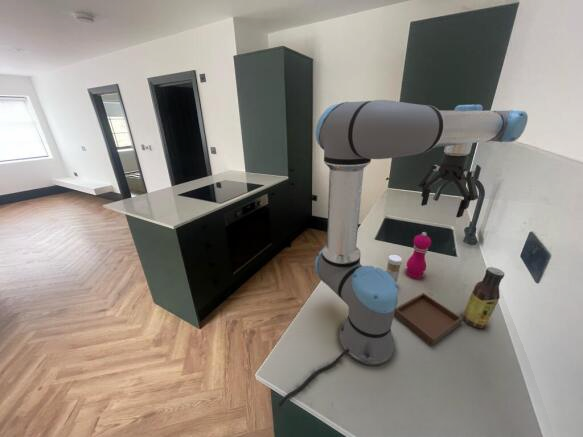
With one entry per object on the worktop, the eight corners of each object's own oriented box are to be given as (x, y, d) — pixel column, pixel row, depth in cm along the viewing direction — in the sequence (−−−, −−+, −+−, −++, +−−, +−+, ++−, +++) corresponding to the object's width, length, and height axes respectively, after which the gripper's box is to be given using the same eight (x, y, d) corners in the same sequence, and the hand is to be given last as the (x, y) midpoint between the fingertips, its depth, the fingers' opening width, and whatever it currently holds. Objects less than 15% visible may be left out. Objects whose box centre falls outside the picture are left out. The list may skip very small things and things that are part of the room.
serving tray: (431, 346, 67) (433, 339, 66) (393, 314, 78) (394, 308, 76) (460, 324, 74) (462, 318, 72) (421, 298, 84) (423, 292, 83)
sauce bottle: (479, 332, 71) (502, 281, 63) (458, 318, 76) (477, 268, 68) (490, 324, 74) (514, 273, 65) (469, 310, 79) (488, 262, 71)
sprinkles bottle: (390, 281, 93) (395, 253, 88) (398, 288, 89) (405, 259, 84) (380, 283, 92) (386, 255, 86) (389, 291, 88) (395, 262, 82)
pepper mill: (426, 280, 93) (438, 237, 85) (407, 278, 94) (417, 236, 86) (420, 269, 100) (431, 228, 91) (402, 268, 101) (412, 227, 93)
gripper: (504, 158, 72) (482, 220, 80) (428, 149, 92) (417, 199, 100) (493, 160, 68) (470, 224, 77) (416, 150, 88) (405, 202, 97)
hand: (440, 210), depth 89 cm, fingers open, 13 cm apart
